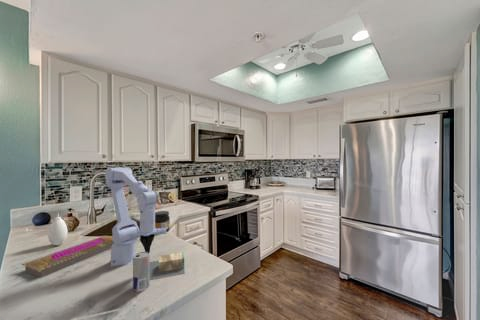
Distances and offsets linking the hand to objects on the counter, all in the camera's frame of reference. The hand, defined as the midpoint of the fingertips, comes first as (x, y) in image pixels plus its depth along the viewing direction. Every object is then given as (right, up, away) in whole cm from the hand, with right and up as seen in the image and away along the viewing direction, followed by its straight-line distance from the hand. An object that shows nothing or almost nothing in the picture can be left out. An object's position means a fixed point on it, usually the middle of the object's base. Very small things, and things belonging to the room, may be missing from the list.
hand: (147, 253), depth 81 cm
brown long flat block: (-41, -9, +15) cm, 44 cm away
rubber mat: (+5, -8, +2) cm, 10 cm away
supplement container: (-14, -9, +50) cm, 53 cm away
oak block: (+4, -5, +1) cm, 7 cm away
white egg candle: (-64, -9, +28) cm, 70 cm away
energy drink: (+3, -8, -11) cm, 14 cm away
